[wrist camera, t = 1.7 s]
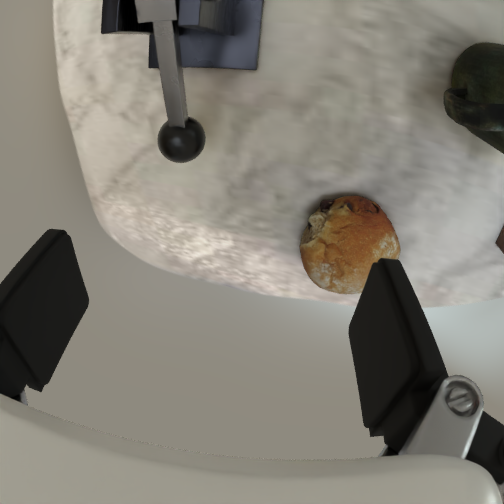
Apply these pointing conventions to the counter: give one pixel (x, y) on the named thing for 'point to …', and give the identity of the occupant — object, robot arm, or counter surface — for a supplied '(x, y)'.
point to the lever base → (199, 31)
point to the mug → (479, 93)
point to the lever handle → (172, 82)
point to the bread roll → (346, 243)
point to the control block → (501, 241)
